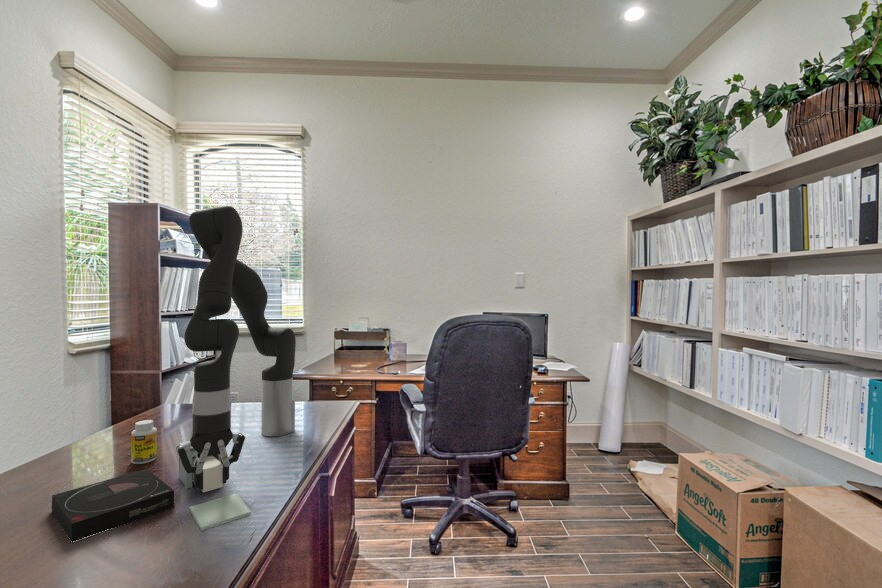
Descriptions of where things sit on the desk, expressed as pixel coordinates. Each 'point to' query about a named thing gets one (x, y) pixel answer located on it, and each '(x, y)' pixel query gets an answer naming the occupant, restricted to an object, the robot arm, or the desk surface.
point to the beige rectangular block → (211, 473)
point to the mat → (219, 511)
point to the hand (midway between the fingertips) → (211, 485)
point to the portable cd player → (111, 503)
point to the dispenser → (185, 476)
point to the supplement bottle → (143, 442)
